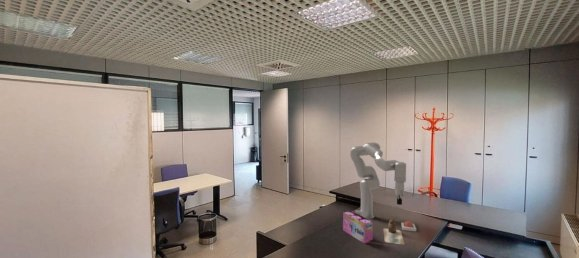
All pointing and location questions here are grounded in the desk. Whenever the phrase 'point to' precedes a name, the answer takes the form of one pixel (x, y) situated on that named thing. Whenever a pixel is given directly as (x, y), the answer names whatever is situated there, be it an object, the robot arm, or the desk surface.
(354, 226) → the pink printed package
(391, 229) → the pawn
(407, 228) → the popper base
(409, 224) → the red dome
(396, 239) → the track board
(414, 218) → the desk surface
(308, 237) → the desk surface
